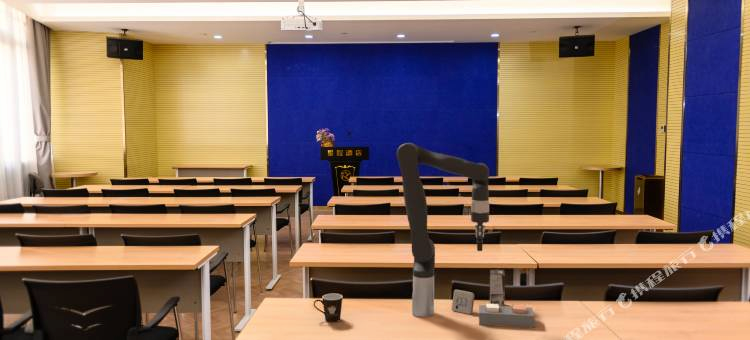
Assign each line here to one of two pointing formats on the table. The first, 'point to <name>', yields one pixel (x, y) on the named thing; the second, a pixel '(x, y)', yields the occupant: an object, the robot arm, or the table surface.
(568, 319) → the table surface
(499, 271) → the coffee box
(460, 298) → the electrical switch
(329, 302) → the coffee mug
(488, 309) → the key white
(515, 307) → the key terracotta
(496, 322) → the grey long rectangular block
